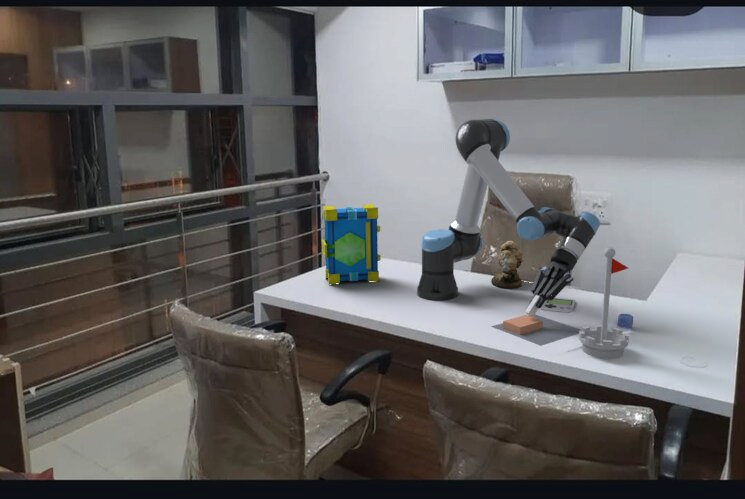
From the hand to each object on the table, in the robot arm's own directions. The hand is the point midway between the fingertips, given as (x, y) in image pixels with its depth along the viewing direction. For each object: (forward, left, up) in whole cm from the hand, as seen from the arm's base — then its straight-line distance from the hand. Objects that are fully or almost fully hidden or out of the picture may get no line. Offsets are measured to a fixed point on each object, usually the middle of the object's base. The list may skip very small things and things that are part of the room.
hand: (528, 314), depth 194 cm
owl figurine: (-41, +33, -5) cm, 53 cm away
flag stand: (+25, +3, -5) cm, 26 cm away
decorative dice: (+17, +25, -5) cm, 30 cm away
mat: (+3, +1, -5) cm, 5 cm away
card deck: (0, +2, -3) cm, 4 cm away
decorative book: (-80, -14, -5) cm, 81 cm away
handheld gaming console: (-9, +25, -5) cm, 27 cm away
